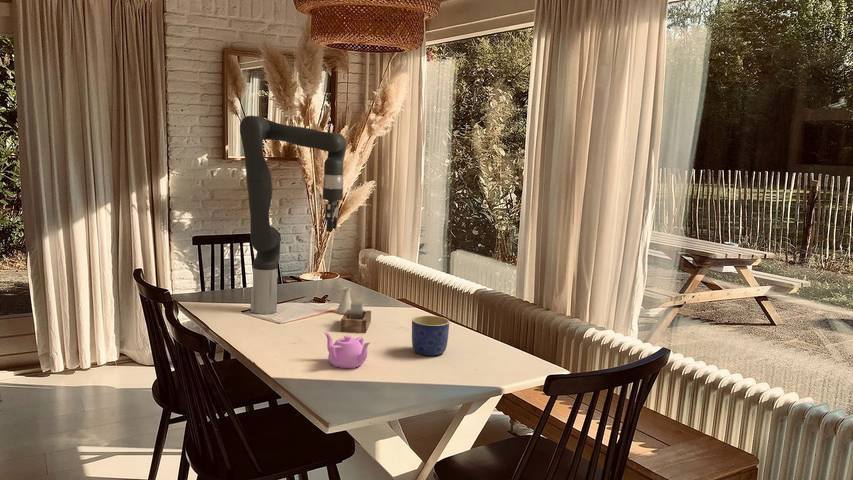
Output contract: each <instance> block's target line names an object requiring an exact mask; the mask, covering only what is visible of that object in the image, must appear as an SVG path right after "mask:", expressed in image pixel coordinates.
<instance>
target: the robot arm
mask: <svg viewBox="0 0 853 480" xmlns="http://www.w3.org/2000/svg"><path fill="white" fill-rule="evenodd" d="M239 133H240V137H241V143H242V149H243V155H244V166H245V173H246V176H245V177H246V189H247V195H248V207H249V214H250V230H249V232H250V233H249V234H250V243H251V246H252V248H253V249H254V250H255V251H256V256H255V257H254V259H253V262H252V287H251V289H250V313H254V314H261V315H271V314H274V313H277V310H278V309H277V306H278V304H277V303H278V299H277V298H278V267H279V266H278V265H279V261H280V256H281V254H280V253H281V236H280V232H279V231H278V230H277V229H276V228H275V227H274V226H271V224H270V209H271V205H272V204H271V203H272V198H273V180H272V174H271V173H272V172H270V171H271V170H270V168H269V166H268V163H267V161H266V158H265V156H264V151H263V141H265V140H267V141H281V142H285V143H288V144H291V145H294V146H299V147H304V148H310V149H316V150H319V151H320V150H321V151H323V152H326V153H327V158H326V159H325V161H324V163H323V179H322V199H323V200H325V201H327V203H326V204H325V213H324V214H325V215H324V216H325V218H324V220H325V221H326V232H328V233H331V232H333V230H336V229H337V228H338V227H337V226H338V225H337V224H338V218H339V209H340V208H339V204H340V202H339V201H342V200H343V199H344V162H345V161H344V160H345V156H346V150H347V140H346V138H345V137H344V135H343V134H342V133H339V132H338V133H337V132H328V131H327V132H326V131H320V130H317V129H315V128H310V127H303V126H296V125H288V124H282V123H278V122H275V121H272V120H270V119H267V118H265V117H262V116H260V115H247V116H244V117H243V118H242V120H241V121H240V124H239Z"/></svg>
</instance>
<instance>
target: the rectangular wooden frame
mask: <svg viewBox="0 0 853 480" xmlns="http://www.w3.org/2000/svg"><path fill="white" fill-rule="evenodd" d="M371 323H372V310H365V309H363V317H362V320H359V319H350V310H347V311H346V313H345V314H343V316H342V317H341V318H340V332H341V333H353V332H355V333H356V334H366V333H367V332H368V329H369V327H370V325H371Z"/></svg>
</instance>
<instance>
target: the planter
mask: <svg viewBox="0 0 853 480" xmlns="http://www.w3.org/2000/svg"><path fill="white" fill-rule="evenodd" d="M449 331H450V320H449V319H447V318H445V317H442V316H437V315H418V316H414V317H413V318H411V345H412V349H413V351H415V353H417V354H419V355H422V354H423V355H422V356H428V355H434V356H439V355H441V354H443V353H445V351H446V349H447V346H448V340H449Z"/></svg>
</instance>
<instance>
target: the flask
mask: <svg viewBox="0 0 853 480" xmlns="http://www.w3.org/2000/svg"><path fill="white" fill-rule="evenodd" d="M351 290H352V288H351V287H349V286H347V287H346V286H344V287H342V298H341V300H340V303H339V305H338V307H337V309H336V310H337V311H336V313H337V314H340V315H344V314H345V313H346V311H347V310H351V303H352V302H353V301H352V299H351Z"/></svg>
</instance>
